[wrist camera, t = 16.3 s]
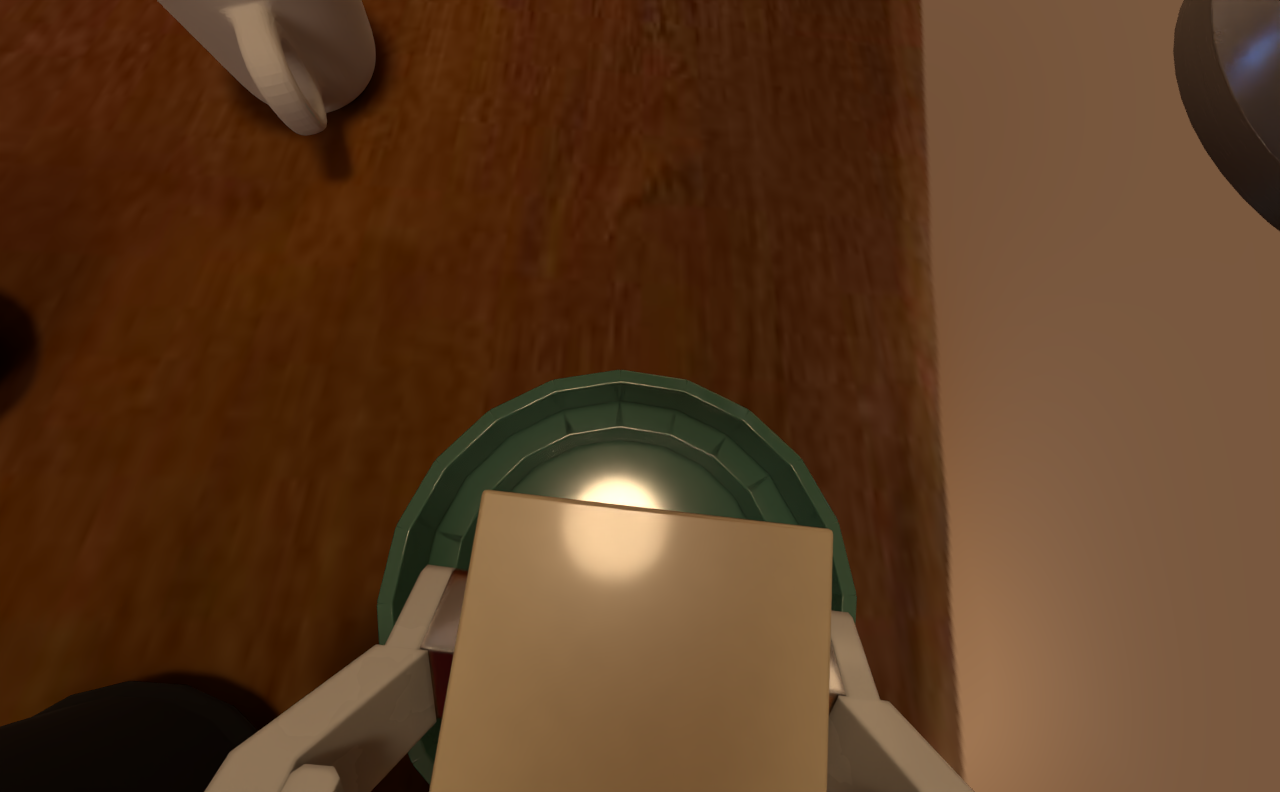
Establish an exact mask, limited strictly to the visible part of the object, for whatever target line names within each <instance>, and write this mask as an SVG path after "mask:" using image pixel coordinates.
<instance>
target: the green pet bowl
mask: <svg viewBox="0 0 1280 792" xmlns="http://www.w3.org/2000/svg"><path fill="white" fill-rule="evenodd" d="M484 490H496V491H504V492H513V493H522V494H530V495H539V496H548V497H557V498H565V499H574V500H583V501H591V502H600V503H609V504H617V505H626V506H635V507H644V508H652V509H661V510H670V511H678V512H687V513H696V514H704V515H713V516H722V517H731V518H739V519H748V520H757V521H765V522H774V523H783V524H792V525H800V526H809V527H818V528H826V529H830V530H832V532H833V562H832V603H831V611H840V612H848V613H849V614H850V615H851V616H852V617H853V620H854V623H855V621H856V600H857V596H856V591H855V587H854V583H853V579H852V574H851V570H850V566H849V562H848V558H847V554H846V550H845V546H844V542H843V538H842V534H841V530H840V526H839V522H838V520H837V518H836V516H835V515H834V513H833V511H832V509H831V508H830V506H829V504H828V503H827V501H826V499H825V498H824V496H823V494H822V492H821V491H820V489H819V487H818V486H817V484H816V482H815V481H814V479H813V477H812V475H811V474H810V472H809V470H808V469H807V467H806V465H805V464H804V462H803V460H802V459H801V458H800V456H799V455H798V454H797V453H795V452H794V451H793V450H792V449H791V448H790V447H789V446H788V445H787V444H786V443H785V442H784V441H783V440H781V439H780V438H779V437H778V436H777V435H776V434H775V433H774V432H773V431H772V430H771V429H770V428H769V427H767V426H766V425H765V424H764V423H763V422H762V421H761V420H760V419H759V418H758V417H757V416H756V415H754V414H753V413H752V412H751V411H750V410H748V409H747V408H745V407H743V406H741V405H739V404H736V403H734V402H732V401H730V400H728V399H726V398H724V397H722V396H720V395H718V394H716V393H714V392H712V391H710V390H708V389H706V388H704V387H701V386H699V385H697V384H695V383H693V382H691V381H689V380H688V381H687V380H686V379H679V378H673V377H666V376H660V375H653V374H647V373H640V372H633V371H627V370H614V371H607V372H600V373H594V374H587V375H580V376H574V377H567V378H561V379H554V380H553V381H552V380H551V381H549V382H547V383H545V384H543V385H540V386H538V387H536V388H534V389H532V390H530V391H528V392H526V393H524V394H522V395H520V396H518V397H516V398H513V399H511V400H509V401H507V402H505V403H503V404H501V405H499V406H497V407H495V408H493V409H491V410H490V411H488V412H487V413H485V414H484V415H483V416H482V417H481V418H480V419H479V420H478V421H477V422H476V423H475V424H473V425H472V426H471V427H470V428H469V429H468V430H467V431H466V432H465V433H464V434H463V435H462V436H460V437H459V438H458V439H457V440H456V441H455V442H454V443H453V444H452V445H451V446H450V447H448V448H447V449H446V450H445V451H444V452H443V453H442V454H441V455H440V456H439V457H438V458H437V459H436V461H434V462H433V464H432V466H431V467H430V469H429V471H428V473H427V474H426V476H425V478H424V479H423V481H422V483H421V484H420V486H419V488H418V489H417V491H416V493H415V494H414V496H413V498H412V500H411V501H410V503H409V505H408V506H407V508H406V510H405V511H404V513H403V515H402V516H401V518H400V520H399V521H398V523H397V527H396V528H395V531H394V535H393V540H392V544H391V548H390V552H389V556H388V560H387V564H386V568H385V572H384V576H383V580H382V584H381V588H380V592H379V596H378V600H377V603H378V604H377V617H378V635H379V645H385V643H386V641H387V639H388V637H389V635H390V633H391V631H392V629H393V627H394V625H395V623H396V621H397V619H398V617H399V615H400V613H401V611H402V609H403V607H404V605H405V603H406V601H407V599H408V597H409V595H410V593H411V591H412V589H413V587H414V585H415V583H416V581H417V579H418V577H419V575H420V572H421V571H422V570H423V569H424V568H425V567H426V566H427V565H436V566H444V567H452V568H461V569H469V564H470V558H471V552H472V547H473V541H474V536H475V530H476V524H477V519H478V513H479V507H480V502H481V496H482V493H483V491H484ZM436 720H437V722H436V723H435V724H434V725H433V726H432V727H431V728H430V729H429V730H428V731H427V732H426V733H425V735H424V736H423V737H422V738H421V739H420V740H419V741H418V742H417V743H416V744H415V745H414V746H413V747H412V748H411V749H410V750H409V752H408V755H409V758H410V760H411V763H413V766H414V767H415V768H416V769H417V771H418V772H419V773H420V774H421V775H422V777H423V778H424V779H425V780H426V781H427V782H428V784H429V785H430V783H431V777H432V772H433V766H434V761H435V755H436V749H437V744H438V738H439V732H440V727H441V721H442V719H441V718H436Z"/></svg>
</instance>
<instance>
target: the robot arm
mask: <svg viewBox="0 0 1280 792" xmlns="http://www.w3.org/2000/svg"><path fill="white" fill-rule="evenodd" d="M467 575H468V569H461V568H452V567H444V566H436V565H427V566H426V567H425V568H424V569H423V570H422V571H421V572H420V575H419V577H418V579H417V581H416V583H415V585H414V587H413V589H412V591H411V593H410V595H409V597H408V599H407V601H406V603H405V605H404V607H403V609H402V611H401V613H400V615H399V617H398V619H397V621H396V623H395V625H394V627H393V629H392V631H391V633H390V635H389V637H388V639H387V641H386V643H385V645H377V644H376V645H374V646H373V647H372V648H370V649H369V650H368V651H366V652H365V653H364V654H362V655H361V656H359V657H358V658H357V659H355V660H354V661H353V662H351V663H350V664H349V665H347V666H346V667H345V668H343V669H342V670H340V671H339V672H338V673H336V674H335V675H334V676H332V677H331V678H330V679H328V680H327V681H326V682H324V683H323V684H321V685H320V686H319V687H317V688H316V689H315V690H313V691H312V692H311V693H309V694H308V695H307V696H305V697H304V698H302V699H301V700H300V701H298V702H297V703H296V704H294V705H293V706H292V707H290V708H289V709H288V710H286V711H285V712H283V713H282V714H281V715H279V716H278V717H277V718H275V719H274V720H273V721H271V722H270V723H269V724H267V725H266V726H264V727H263V728H262V729H260V730H259V731H258V732H256V733H255V734H254V735H252V736H251V737H250V738H248V739H247V740H245V741H244V742H243V743H241V744H240V745H239V746H237V747H236V748H235V749H233V750H232V751H231V752H229V754H228V756H227V757H226V759H225V760H224V762H223V763H222V765H221V766H220V768H219V770H218V771H217V773H216V774H215V776H214V777H213V779H212V780H211V782H210V784H209V785H208V787H207V788H206V790H205V791H204V792H371V791H372V790H373V789H374V788H375V787H376V785H377V784H378V783H379V782H380V781H381V780H382V779H383V778H384V777H385V776H386V775H387V774H388V773H389V772H390V771H391V770H392V768H393V767H394V766H395V765H396V764H397V763H398V762H399V761H400V760H401V759H402V758H403V757H404V756H405V755H406V754H407V753H408V752H409V750H410V749H411V748H412V747H413V746H414V745H415V744H416V743H417V742H418V741H419V740H420V739H421V738H422V737H423V736H424V735H425V733H426V732H427V731H428V730H429V729H430V728H431V727H432V726H433V725H434V724H435V723H436V722H437V720H436V718H441V719H442V716H443V710H444V704H445V699H446V693H447V687H448V682H449V676H450V671H451V665H452V659H453V654H454V648H455V642H456V637H457V631H458V626H459V620H460V614H461V609H462V603H463V597H464V592H465V586H466V581H467ZM827 792H974V791H973V790H972V789H971V788H970V787H969V785H968V784H967V783H966V782H965V781H964V780H963V779H962V778H961V777H960V776H959V775H958V774H957V773H956V772H955V771H954V770H953V769H952V767H951V766H950V765H949V764H948V763H947V762H946V761H945V760H944V759H943V758H942V757H941V756H940V755H939V754H938V753H937V752H936V751H935V749H934V748H933V747H932V746H931V745H930V744H929V743H928V742H927V741H926V740H925V739H924V738H923V737H922V736H921V735H920V734H919V733H918V731H917V730H916V729H915V728H914V727H913V726H912V725H911V724H910V723H909V722H908V721H907V720H906V719H905V718H904V717H903V716H902V715H901V713H900V712H899V711H898V710H897V709H896V708H895V707H894V706H893V705H892V704H891V703H890V702H889V701H883V700H880V698H879V695H878V692H877V689H876V686H875V683H874V680H873V677H872V674H871V671H870V668H869V665H868V662H867V659H866V656H865V653H864V650H863V647H862V644H861V641H860V638H859V635H858V632H857V629H856V626H855V623H854V620H853V617H852V616H851V615H850V614H849V613H848V612H840V611H831V643H830V684H829V725H828V766H827Z"/></svg>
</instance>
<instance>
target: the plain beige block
mask: <svg viewBox="0 0 1280 792" xmlns="http://www.w3.org/2000/svg"><path fill="white" fill-rule="evenodd" d="M832 562H833V532H832V530H830V529H826V528H818V527H809V526H800V525H792V524H783V523H774V522H765V521H757V520H748V519H739V518H731V517H722V516H713V515H704V514H696V513H687V512H678V511H670V510H661V509H652V508H644V507H635V506H626V505H617V504H609V503H600V502H591V501H583V500H574V499H565V498H557V497H548V496H539V495H530V494H522V493H513V492H504V491H496V490H484V491H483V493H482V496H481V502H480V507H479V513H478V519H477V524H476V530H475V536H474V541H473V547H472V552H471V558H470V564H469V569H468V575H467V581H466V586H465V592H464V597H463V603H462V609H461V614H460V620H459V626H458V631H457V637H456V642H455V648H454V654H453V659H452V665H451V671H450V676H449V682H448V687H447V693H446V699H445V704H444V710H443V716H442V721H441V727H440V732H439V738H438V744H437V749H436V755H435V761H434V766H433V772H432V777H431V783H430V789H429V792H827V766H828V725H829V684H830V643H831V603H832Z"/></svg>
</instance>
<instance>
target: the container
mask: <svg viewBox="0 0 1280 792" xmlns="http://www.w3.org/2000/svg"><path fill="white" fill-rule="evenodd" d="M256 732H258V730H257V729H256V728H255V727H254V726H253V725H252V724H251V723H250V722H249V721H248V720H247V719H246V718H245V717H244V716H243V715H242V714H241V713H240V712H239V711H238V710H237V709H236V708H235V707H234V706H232V705H230V704H228V703H226V702H224V701H221V700H219V699H217V698H215V697H213V696H210V695H208V694H206V693H204V692H202V691H199V690H197V689H195V688H193V687H191V686H188V685H181V684H167V683H153V682H139V681H127V682H123V683H119V684H115V685H111V686H107V687H103V688H99V689H95V690H91V691H86V692H82V693H78V694H74V695H71V696H69V697H67V698H65V699H63V700H62V701H60V702H58V703H56V704H54V705H53V706H51V707H49V708H47V709H46V710H44V711H42V712H40V713H38V714H37V715H35V716H33V717H31V718H27V719H24V720H21V721H17V722H14V723H11V724H8V725H4V726H1V727H0V792H204V791H205V790H206V788H207V787H208V785H209V784H210V782H211V780H212V779H213V777H214V776H215V774H216V773H217V771H218V770H219V768H220V766H221V765H222V763H223V762H224V760H225V759H226V757H227V756H228V754H229V752H231V751H232V750H233V749H235V748H236V747H237V746H239V745H240V744H241V743H243V742H244V741H245V740H247V739H248V738H250V737H251V736H252V735H254V734H255V733H256Z"/></svg>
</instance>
